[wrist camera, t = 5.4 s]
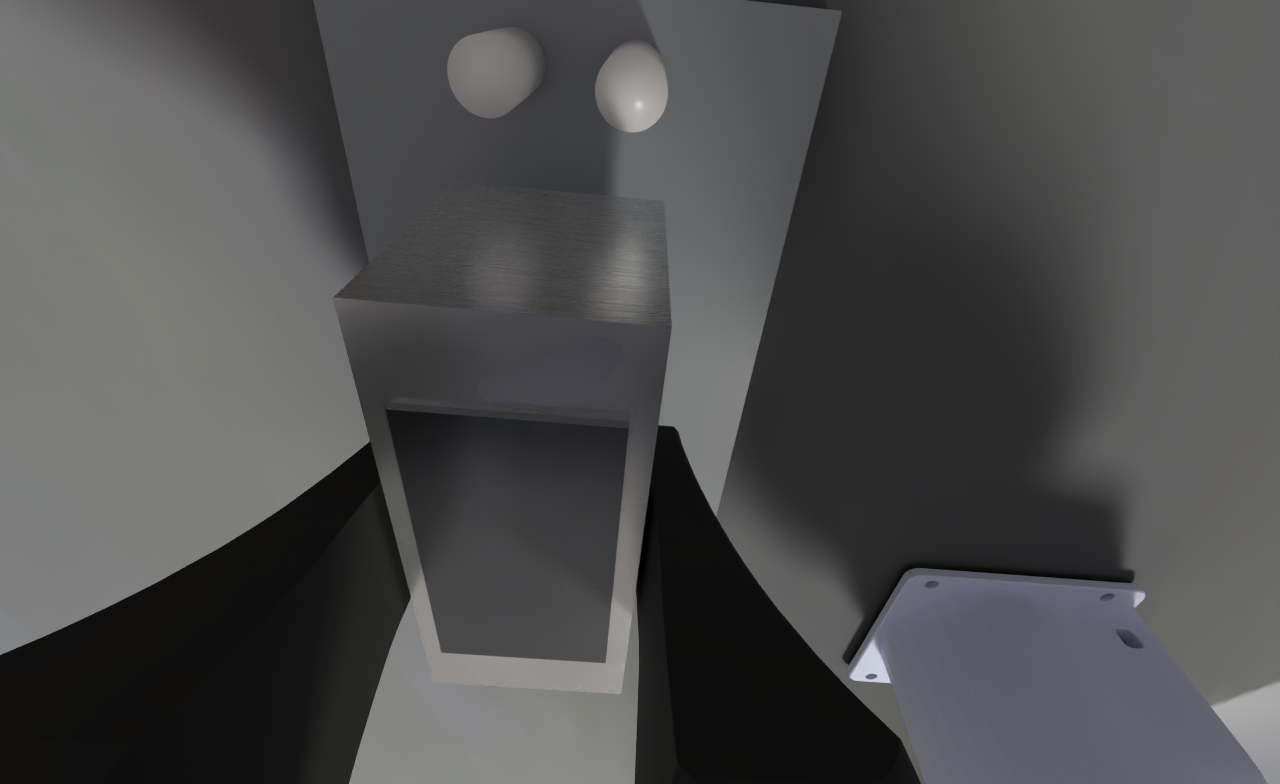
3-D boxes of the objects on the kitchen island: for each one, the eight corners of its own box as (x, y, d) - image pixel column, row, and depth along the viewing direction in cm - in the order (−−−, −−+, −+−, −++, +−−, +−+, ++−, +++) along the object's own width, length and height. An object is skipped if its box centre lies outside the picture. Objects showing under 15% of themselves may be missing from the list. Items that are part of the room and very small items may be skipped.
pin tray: (828, 9, 11) (888, 14, 8) (705, 529, 21) (713, 615, 18) (328, -45, 11) (214, -59, 8) (434, 509, 20) (398, 593, 17)
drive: (664, 200, 11) (672, 333, 6) (628, 515, 16) (620, 701, 12) (456, 180, 11) (326, 304, 6) (489, 505, 16) (431, 689, 12)
